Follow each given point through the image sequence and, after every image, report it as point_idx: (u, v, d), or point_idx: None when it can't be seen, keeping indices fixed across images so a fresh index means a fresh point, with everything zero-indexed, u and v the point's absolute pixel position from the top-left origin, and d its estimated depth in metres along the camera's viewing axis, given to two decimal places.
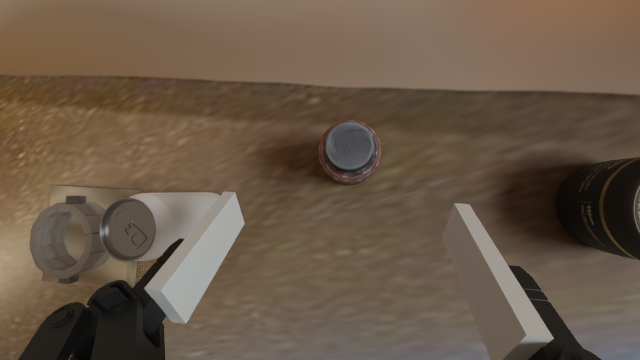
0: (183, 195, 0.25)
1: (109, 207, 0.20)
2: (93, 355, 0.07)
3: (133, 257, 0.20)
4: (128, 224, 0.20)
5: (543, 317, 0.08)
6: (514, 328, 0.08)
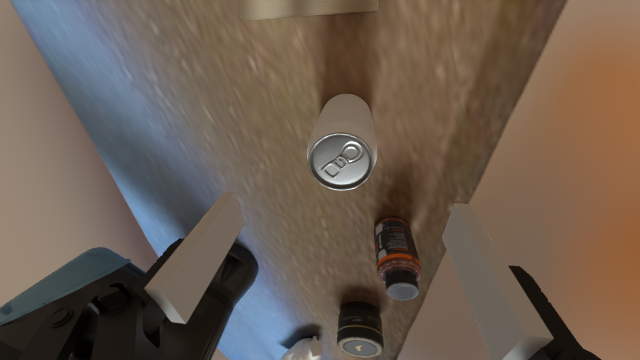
0: None
1: (362, 140, 0.18)
2: (93, 355, 0.07)
3: (312, 167, 0.20)
4: (344, 160, 0.20)
5: (543, 317, 0.08)
6: (514, 328, 0.08)
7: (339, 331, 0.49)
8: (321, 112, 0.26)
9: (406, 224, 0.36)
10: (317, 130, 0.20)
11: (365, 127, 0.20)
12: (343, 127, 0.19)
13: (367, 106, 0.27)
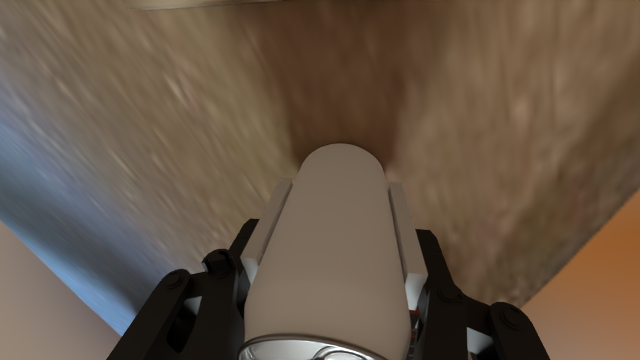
0: None
1: (380, 355, 0.06)
2: (199, 310, 0.08)
3: None
4: None
5: (433, 264, 0.10)
6: (405, 271, 0.10)
7: None
8: (294, 184, 0.14)
9: None
10: (262, 286, 0.08)
11: (384, 282, 0.08)
12: (325, 305, 0.07)
13: (379, 169, 0.15)
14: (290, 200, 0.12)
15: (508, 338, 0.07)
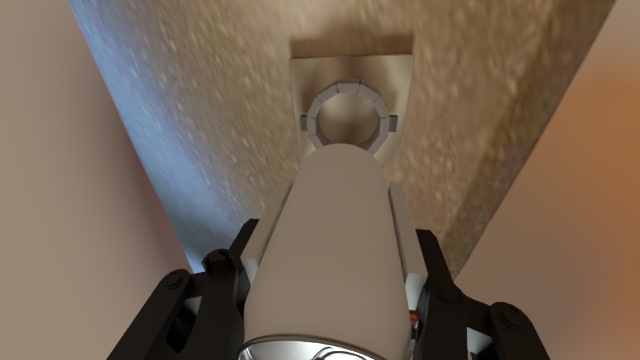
0: None
1: (379, 355, 0.06)
2: (199, 310, 0.08)
3: None
4: None
5: (433, 264, 0.10)
6: (405, 271, 0.10)
7: None
8: (294, 184, 0.14)
9: None
10: (262, 286, 0.08)
11: (384, 282, 0.08)
12: (325, 305, 0.07)
13: (379, 169, 0.15)
14: (290, 200, 0.12)
15: (508, 338, 0.07)
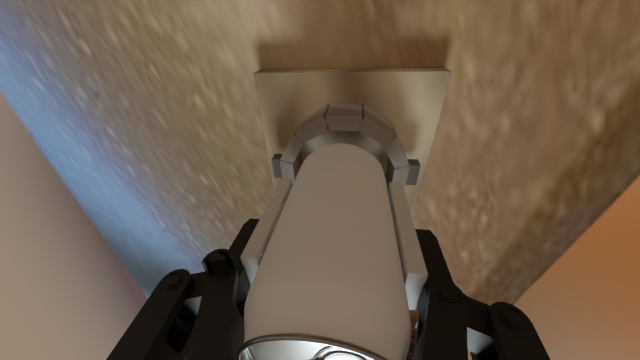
0: None
1: (380, 355, 0.06)
2: (199, 310, 0.08)
3: None
4: None
5: (433, 264, 0.10)
6: (405, 271, 0.10)
7: None
8: (294, 184, 0.14)
9: None
10: (262, 286, 0.08)
11: (384, 282, 0.08)
12: (325, 305, 0.07)
13: (379, 169, 0.15)
14: (290, 200, 0.12)
15: (508, 338, 0.07)
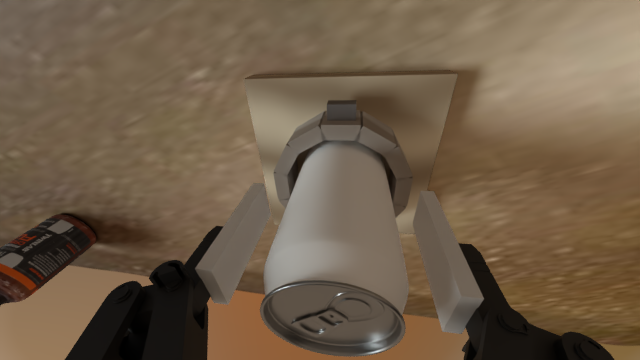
0: None
1: (381, 297, 0.08)
2: (150, 327, 0.08)
3: (274, 317, 0.10)
4: (340, 315, 0.09)
5: (483, 285, 0.09)
6: (454, 293, 0.09)
7: None
8: (301, 170, 0.15)
9: (91, 244, 0.32)
10: (280, 249, 0.09)
11: (384, 243, 0.09)
12: (335, 258, 0.08)
13: (379, 156, 0.16)
14: (299, 183, 0.13)
15: None
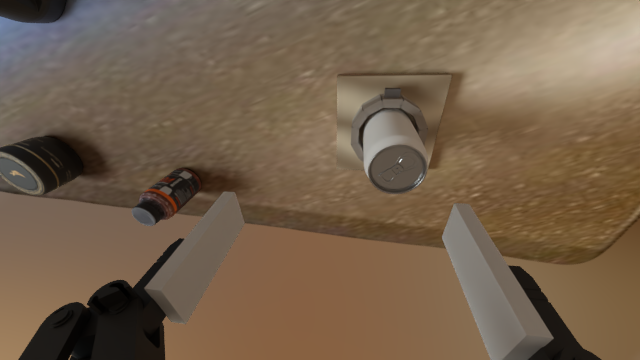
0: None
1: (419, 152, 0.21)
2: (93, 355, 0.07)
3: (370, 173, 0.23)
4: (400, 168, 0.23)
5: (543, 317, 0.08)
6: (514, 328, 0.08)
7: (21, 148, 0.40)
8: (369, 124, 0.29)
9: None
10: (376, 142, 0.23)
11: (419, 140, 0.23)
12: (402, 140, 0.22)
13: None
14: (372, 126, 0.27)
15: None
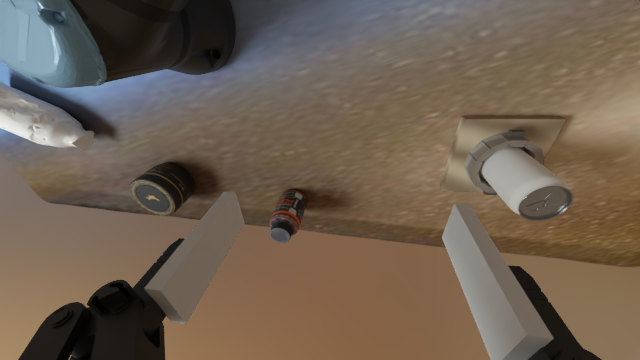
0: None
1: (569, 191, 0.27)
2: (93, 355, 0.07)
3: (519, 205, 0.30)
4: (547, 202, 0.29)
5: (543, 317, 0.08)
6: (514, 328, 0.08)
7: (159, 176, 0.46)
8: (495, 159, 0.35)
9: None
10: (527, 181, 0.29)
11: (561, 179, 0.29)
12: (553, 181, 0.28)
13: None
14: (505, 163, 0.33)
15: None
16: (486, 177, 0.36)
